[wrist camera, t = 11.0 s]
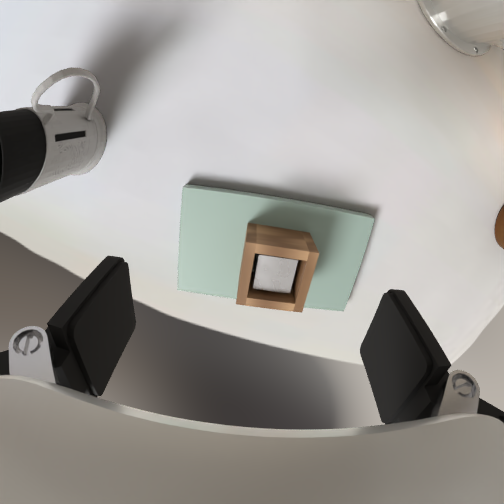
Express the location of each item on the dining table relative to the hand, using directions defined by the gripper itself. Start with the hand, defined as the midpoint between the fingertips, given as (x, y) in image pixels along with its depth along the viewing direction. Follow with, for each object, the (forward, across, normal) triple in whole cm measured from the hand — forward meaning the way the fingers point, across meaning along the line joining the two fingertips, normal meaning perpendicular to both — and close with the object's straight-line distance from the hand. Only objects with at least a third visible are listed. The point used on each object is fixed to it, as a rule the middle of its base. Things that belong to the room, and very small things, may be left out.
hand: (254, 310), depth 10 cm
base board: (+20, -2, +7) cm, 22 cm away
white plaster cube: (+19, -2, +7) cm, 20 cm away
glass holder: (+20, +19, -6) cm, 29 cm away
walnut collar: (+19, -2, +7) cm, 20 cm away
